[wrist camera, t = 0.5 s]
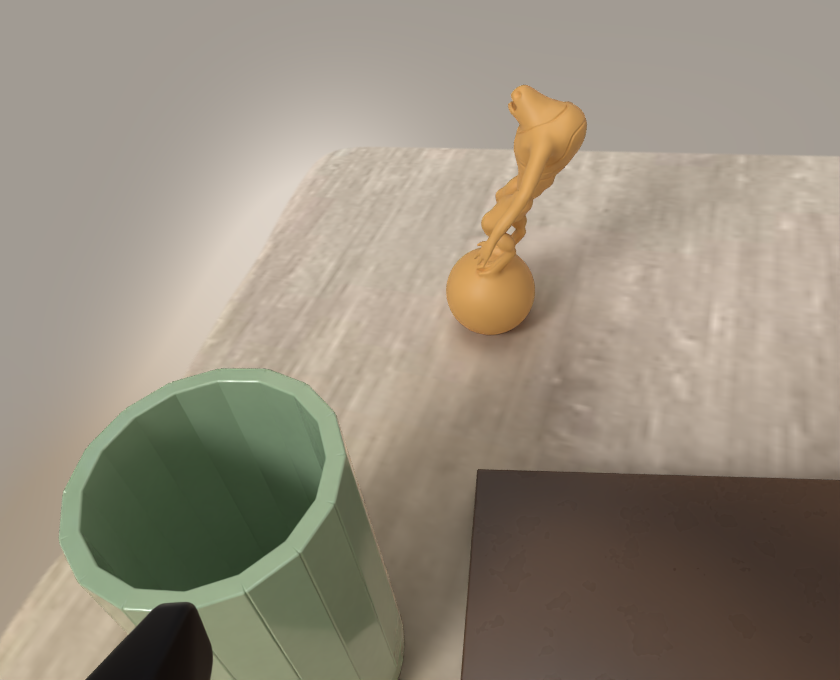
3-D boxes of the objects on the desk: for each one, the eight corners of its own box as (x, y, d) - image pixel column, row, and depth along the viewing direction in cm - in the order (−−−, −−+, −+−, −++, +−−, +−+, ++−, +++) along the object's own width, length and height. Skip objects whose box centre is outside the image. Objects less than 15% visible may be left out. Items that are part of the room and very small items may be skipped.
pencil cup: (388, 772, 22) (308, 622, 15) (177, 750, 23) (4, 601, 16) (416, 562, 27) (365, 368, 19) (239, 552, 28) (127, 366, 21)
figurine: (481, 260, 38) (462, 29, 30) (598, 279, 36) (613, 36, 28) (420, 377, 33) (377, 138, 25) (553, 407, 31) (555, 157, 23)
